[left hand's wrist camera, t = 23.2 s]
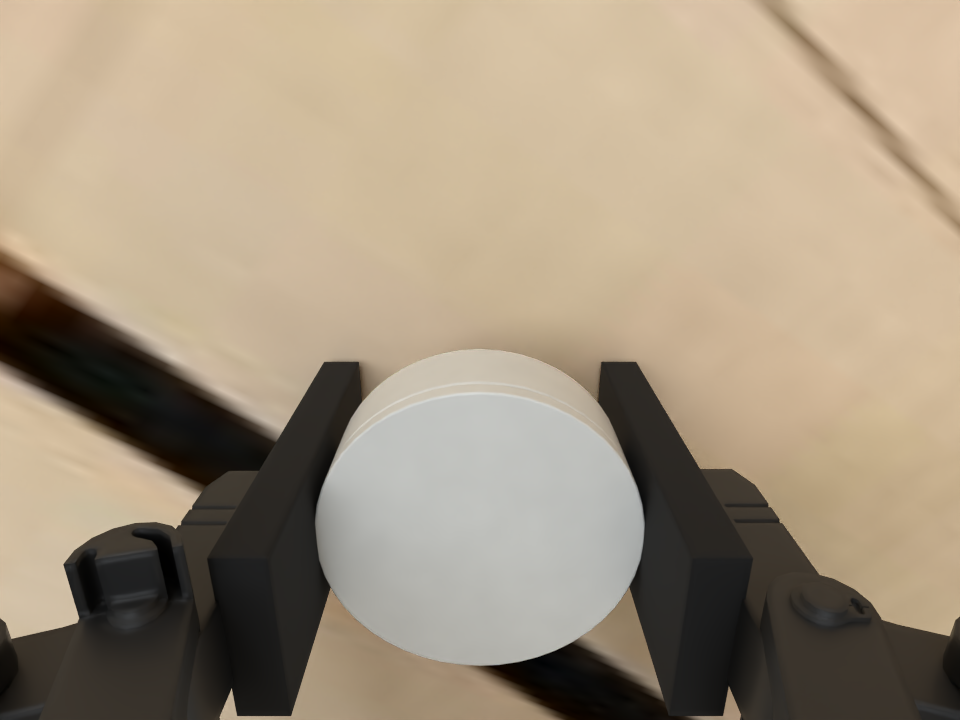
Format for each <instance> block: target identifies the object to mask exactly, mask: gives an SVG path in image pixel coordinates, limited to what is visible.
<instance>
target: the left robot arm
mask: <svg viewBox="0 0 960 720" xmlns="http://www.w3.org/2000/svg"><path fill="white" fill-rule="evenodd" d="M361 403H362V398H361V385H360V372H359V362H324V363H323V365H322V367H321V368H320V370H319V372H318V373H317V375H316V377H315V378H314V380H313V382H312V383H311V385H310V387H309V388H308V390H307V392H306V393H305V395H304V397H303V398H302V400H301V402H300V404H299V405H298V407H297V409H296V410H295V412H294V414H293V415H292V417H291V419H290V420H289V422H288V424H287V425H286V427H285V429H284V430H283V432H282V434H281V435H280V437H279V439H278V440H277V442H276V444H275V445H274V447H273V449H272V450H271V452H270V454H269V455H268V457H267V459H266V460H265V462H264V464H263V465H262V467H261V469H260V470H259V471H228V472H227V473H225V474H224V475H222V476H221V477H220V478H218V479H217V480H215V481H214V482H212V483H211V484H210V485H208V486H207V487H205V489H204V490H203V492H202V493H201V494H200V496H199V497H198V499H197V500H196V501H195V503H194V504H193V506H192V510H189V511H188V513H187V514H186V516H185V517H184V518H183V520H182V521H181V525H178V527H177V528H176V529H175V528H174V527H172V526H170V525H165V524H161V523H157V522H150V523H134V524H130V525H126V526H122V527H118V528H114V529H111V530H109V531H107V532H105V533H102V534H100V535H98V536H96V537H93V538H91V539H90V540H89V541H87V542H86V543H84V544H83V545H82V546H80V547H79V548H77V549H76V550H74V552H73V553H72V554H71V556H70V557H69V558H68V559H67V561H66V562H65V563H64V568H65V571H66V575H67V578H68V581H69V585H70V588H71V591H72V595H73V598H74V602H75V605H76V608H77V612H78V615H79V621H78V623H76V624H73V625H69V626H66V627H63V628H58V629H54V630H49V631H45V632H40V633H36V634H32V635H27V636H23V637H18V638H14V639H11V637H10V634H9V631H8V628H7V626H6V623H5V622H4V621H3V620H1V619H0V720H220V718H219V717H220V714H221V712H222V710H223V707H224V705H225V702H226V700H227V698H228V695H229V693H230V691H231V688H232V691H233V696H234V701H235V707H236V712H237V716H291V714H292V711H293V708H294V705H295V701H296V698H297V695H298V692H299V688H300V685H301V682H302V679H303V675H304V672H305V669H306V666H307V662H308V659H309V656H310V653H311V649H312V646H313V643H314V640H315V636H316V633H317V630H318V627H319V623H320V620H321V617H322V614H323V610H324V607H325V604H326V601H327V597H328V594H329V591H330V588H331V587H330V585H329V583H328V581H327V579H326V577H325V575H324V572H323V570H322V567H321V564H320V561H319V555H318V547H317V539H316V529H315V515H316V507H317V502H318V499H319V495H320V492H321V488H322V486H323V483H324V481H325V478H326V476H327V473H328V471H329V469H330V466H331V464H332V461H333V459H334V456H335V454H336V452H337V449H338V447H339V444H340V442H341V439H342V437H343V434H344V432H345V430H346V428H347V426H348V424H349V422H350V419H351V418H352V416H353V415H354V413H355V412H356V410H357V409H358V407H359V406H360V404H361ZM598 403H599V405H600V406H601V408H602V409H603V411H604V412H605V414H606V415H607V417H608V418H609V420H610V423H611V425H612V427H613V429H614V431H615V433H616V436H617V438H618V441H619V443H620V446H621V448H622V450H623V453H624V455H625V458H626V460H627V463H628V465H629V468H630V470H631V473H632V475H633V478H634V480H635V482H636V485H637V487H638V491H639V494H640V498H641V501H642V505H643V512H644V520H645V529H644V540H643V549H642V555H641V560H640V562H639V565H638V568H637V571H636V574H635V576H634V578H633V580H632V582H631V584H630V586H629V587H630V590H631V593H632V597H633V600H634V603H635V606H636V610H637V613H638V616H639V620H640V623H641V626H642V629H643V633H644V636H645V639H646V642H647V646H648V649H649V652H650V655H651V659H652V662H653V665H654V668H655V672H656V675H657V678H658V681H659V685H660V688H661V691H662V694H663V698H664V701H665V704H666V707H667V711H668V714H669V716H723V713H724V708H725V702H726V697H727V692H728V687H730V689H731V692H732V694H733V696H734V699H735V701H736V703H737V706H738V708H739V710H740V713H741V718H740V720H960V617H959V618H958V619H956V621H955V623H954V626H953V629H952V632H951V635H950V636H945V635H941V634H936V633H932V632H928V631H923V630H919V629H914V628H910V627H905V626H901V625H897V624H894V623H890V622H887V621H883V620H882V619H881V617H880V616H879V614H878V613H877V611H876V610H875V608H874V607H873V605H872V604H871V603H870V602H869V601H868V600H867V599H866V598H864V597H863V596H862V595H861V594H859V593H858V592H857V591H856V590H854V589H853V588H851V587H849V586H847V585H845V584H843V583H841V582H839V581H837V580H835V579H832V578H828V577H825V576H821V575H819V574H818V572H817V571H816V570H815V568H814V567H813V566H812V564H811V563H810V561H809V560H808V559H807V557H806V556H805V554H804V553H803V552H802V550H801V549H800V547H799V546H798V545H797V543H796V542H795V540H794V539H793V538H792V536H791V535H790V533H789V532H788V531H787V529H786V528H785V526H784V525H783V524H782V523H780V522H779V518H778V517H777V515H776V514H775V512H774V511H773V510H772V508H771V507H768V503H767V501H766V500H765V498H764V497H763V496H762V494H761V493H760V491H759V490H758V489H757V487H756V486H755V485H754V484H753V483H751V482H750V481H748V480H747V479H745V478H744V477H743V476H741V475H740V474H738V473H737V472H735V471H734V470H732V469H700V468H699V467H698V465H697V463H696V462H695V460H694V458H693V457H692V455H691V453H690V452H689V450H688V448H687V447H686V445H685V443H684V442H683V440H682V438H681V437H680V435H679V433H678V432H677V430H676V428H675V427H674V425H673V423H672V421H671V420H670V418H669V416H668V415H667V413H666V411H665V410H664V408H663V406H662V405H661V403H660V401H659V400H658V398H657V396H656V395H655V393H654V391H653V390H652V388H651V386H650V385H649V383H648V381H647V380H646V378H645V376H644V375H643V373H642V371H641V370H640V368H639V366H638V365H637V363H636V362H601V375H600V388H599V401H598Z"/></svg>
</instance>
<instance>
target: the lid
mask: <svg viewBox="0 0 960 720" xmlns="http://www.w3.org/2000/svg"><path fill="white" fill-rule="evenodd" d="M315 529H316V539H317V547H318V555H319V561H320V564H321V567H322V570H323V572H324V575H325V577H326V579H327V581H328V583H329V585H330V587H331V589H332V591H333V592H334V594H335V595H336V596H337V598H338V599H339V601H340V602H341V603H342V605H343V606H344V607H345V608H346V609H347V610H348V611H349V612H350V614H351V615H352V616H353V617H354V618H355V619H356V620H357V621H358V622H360V623H361V624H362V625H363V626H365V627H366V628H367V629H368V630H369V631H371V632H372V633H374V634H375V635H377V636H378V637H380V638H382V639H383V640H385V641H386V642H388V643H390V644H392V645H394V646H396V647H398V648H400V649H402V650H404V651H407V652H410V653H413V654H415V655H418V656H421V657H424V658H428V659H432V660H436V661H440V662H446V663H452V664H459V665H477V666H482V665H500V664H507V663H514V662H520V661H524V660H528V659H532V658H536V657H539V656H542V655H544V654H547V653H550V652H552V651H555V650H557V649H559V648H561V647H563V646H565V645H567V644H569V643H572V642H573V641H575V640H576V639H578V638H580V637H581V636H583V635H584V634H586V633H587V632H589V631H590V630H591V629H592V628H594V627H595V626H596V625H597V624H599V623H600V622H601V621H602V620H603V619H604V618H605V617H606V616H607V615H608V614H609V613H610V612H611V611H612V610H613V609H614V608H615V607H616V605H617V604H618V603H619V601H620V600H621V598H622V597H623V596H624V594H625V593H626V591H627V589H628V588H629V586H630V584H631V582H632V580H633V578H634V576H635V574H636V571H637V568H638V565H639V562H640V560H641V555H642V549H643V540H644V529H645V520H644V512H643V505H642V501H641V498H640V494H639V491H638V487H637V485H636V482H635V480H634V478H633V475H632V473H631V470H630V468H629V465H628V463H627V460H626V458H625V455H624V453H623V450H622V448H621V446H620V443H619V441H618V438H617V436H616V433H615V431H614V429H613V427H612V425H611V423H610V420H609V418H608V417H607V415H606V414H605V412H604V411H603V409H602V408H601V406H600V405H599V403H598V402H597V401H596V400H595V399H594V398H593V397H592V396H591V395H590V393H589V392H588V391H587V390H586V389H585V388H583V387H582V386H581V385H580V384H579V383H577V382H576V381H575V380H574V379H573V378H571V377H570V376H568V375H567V374H565V373H563V372H562V371H560V370H559V369H557V368H555V367H553V366H551V365H549V364H547V363H544V362H542V361H540V360H538V359H534V358H531V357H528V356H525V355H522V354H518V353H513V352H507V351H502V350H490V349H470V350H458V351H452V352H447V353H441V354H438V355H434V356H431V357H428V358H425V359H422V360H419V361H417V362H415V363H413V364H411V365H409V366H406V367H404V368H402V369H401V370H399V371H398V372H396V373H395V374H393V375H391V376H390V377H388V378H387V379H386V380H384V381H383V382H382V383H381V384H380V385H378V386H377V387H376V388H375V389H374V390H373V391H372V392H371V393H370V394H369V395H368V396H367V397H366V398H365V399H364V401H363V402H362V403H361V404H360V406H359V407H358V409H357V410H356V412H355V413H354V415H353V416H352V418H351V419H350V422H349V424H348V426H347V428H346V430H345V432H344V434H343V437H342V439H341V442H340V444H339V447H338V449H337V452H336V454H335V456H334V459H333V461H332V464H331V466H330V469H329V471H328V473H327V476H326V478H325V481H324V483H323V486H322V488H321V492H320V495H319V499H318V502H317V507H316V515H315Z"/></svg>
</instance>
